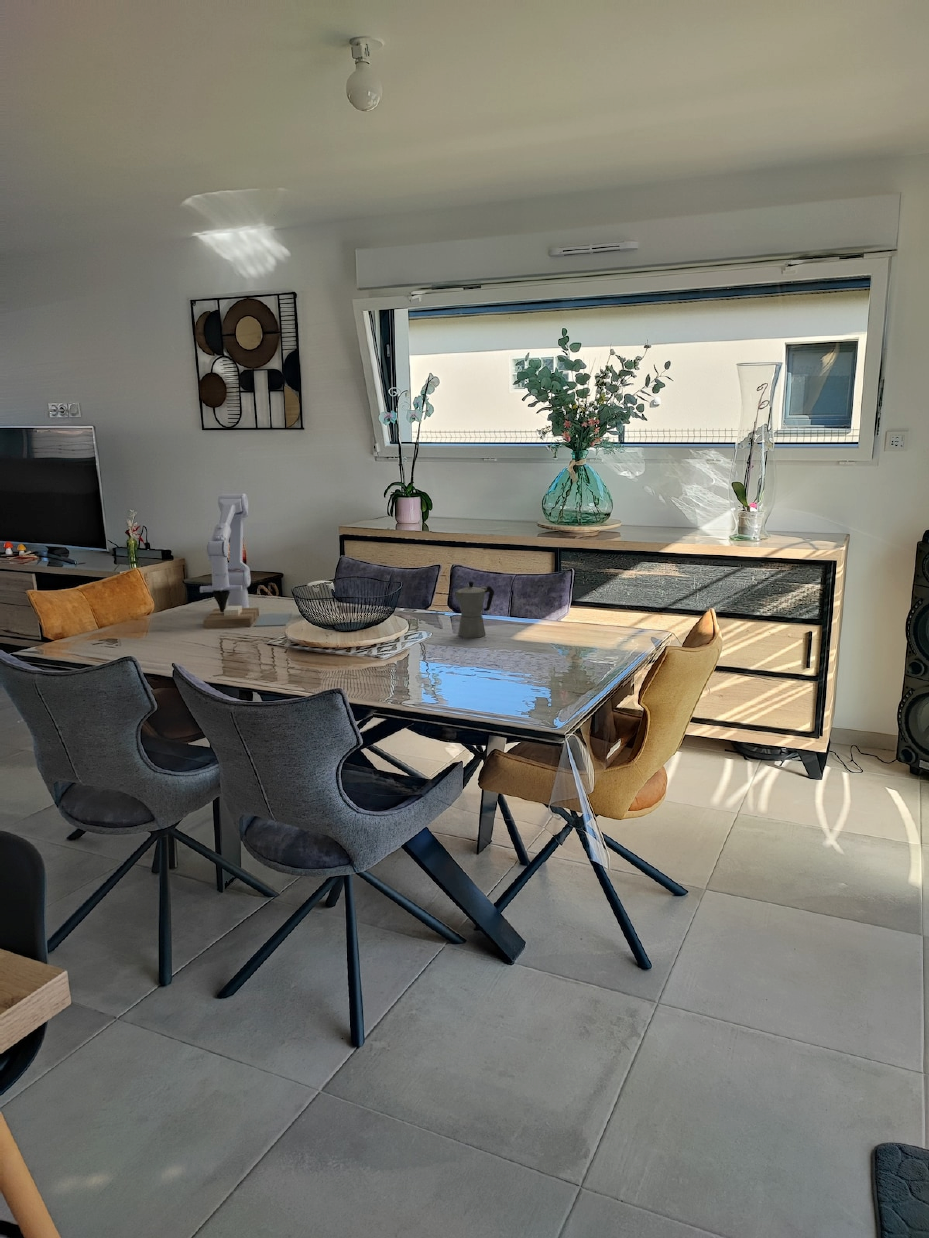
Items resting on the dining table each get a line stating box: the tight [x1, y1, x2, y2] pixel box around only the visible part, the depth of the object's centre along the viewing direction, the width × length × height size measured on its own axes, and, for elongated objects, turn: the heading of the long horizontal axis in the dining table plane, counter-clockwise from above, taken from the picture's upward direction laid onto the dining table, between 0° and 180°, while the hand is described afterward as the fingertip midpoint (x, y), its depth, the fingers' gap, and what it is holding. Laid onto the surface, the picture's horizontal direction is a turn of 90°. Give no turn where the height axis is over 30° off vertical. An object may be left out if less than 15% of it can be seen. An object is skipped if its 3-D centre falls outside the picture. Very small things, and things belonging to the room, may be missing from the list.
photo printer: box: [306, 580, 335, 592], centre depth 323 cm, size 10×4×12 cm, turn 109°
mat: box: [253, 612, 293, 627], centre depth 315 cm, size 18×11×1 cm, turn 4°
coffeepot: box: [453, 580, 495, 639], centre depth 288 cm, size 15×9×18 cm, turn 121°
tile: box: [224, 605, 242, 616], centre depth 313 cm, size 7×5×2 cm
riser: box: [203, 606, 260, 629], centre depth 314 cm, size 18×16×3 cm
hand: (223, 611), depth 313 cm, fingers closed
